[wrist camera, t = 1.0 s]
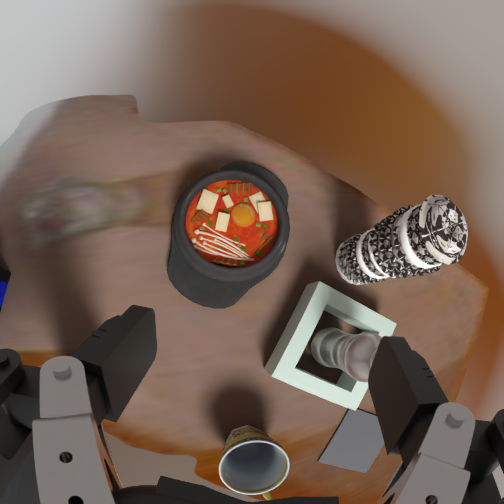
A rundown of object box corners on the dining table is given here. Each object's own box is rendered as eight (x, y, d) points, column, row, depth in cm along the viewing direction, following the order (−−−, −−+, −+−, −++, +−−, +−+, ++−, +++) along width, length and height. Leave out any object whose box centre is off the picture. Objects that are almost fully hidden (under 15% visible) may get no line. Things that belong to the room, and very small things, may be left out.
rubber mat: (365, 472, 45) (365, 472, 44) (317, 460, 44) (318, 461, 44) (394, 422, 48) (395, 422, 47) (349, 406, 47) (350, 406, 47)
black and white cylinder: (369, 295, 51) (472, 280, 27) (325, 274, 51) (417, 244, 26) (383, 249, 53) (481, 211, 29) (342, 227, 53) (430, 171, 28)
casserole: (245, 328, 47) (253, 332, 39) (142, 274, 47) (129, 267, 38) (308, 197, 53) (325, 178, 45) (215, 149, 52) (217, 124, 44)
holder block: (340, 401, 47) (355, 410, 41) (263, 368, 46) (271, 376, 41) (378, 323, 51) (396, 323, 45) (306, 284, 50) (319, 280, 44)
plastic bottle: (324, 318, 49) (390, 321, 30) (350, 343, 49) (422, 357, 30) (298, 347, 48) (353, 368, 28) (325, 372, 48) (389, 402, 28)
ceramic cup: (207, 426, 43) (208, 452, 34) (265, 408, 45) (278, 430, 36) (234, 483, 42) (240, 514, 32) (287, 466, 44) (303, 493, 34)
